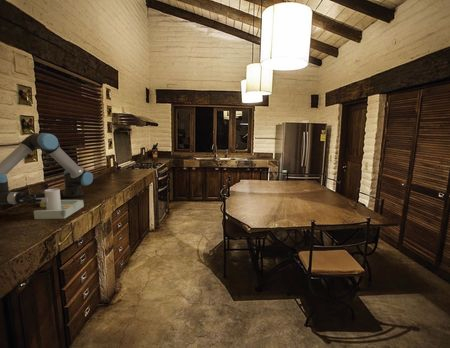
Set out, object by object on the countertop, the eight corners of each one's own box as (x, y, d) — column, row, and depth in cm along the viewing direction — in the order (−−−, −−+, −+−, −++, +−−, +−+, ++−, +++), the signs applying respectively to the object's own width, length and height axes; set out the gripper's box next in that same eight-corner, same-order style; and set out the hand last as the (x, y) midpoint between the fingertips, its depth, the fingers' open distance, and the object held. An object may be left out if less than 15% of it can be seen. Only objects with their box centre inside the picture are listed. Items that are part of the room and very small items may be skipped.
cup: (59, 210, 177) (56, 188, 174) (63, 213, 171) (61, 189, 169) (45, 213, 170) (42, 189, 168) (49, 216, 165) (46, 191, 163)
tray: (34, 219, 163) (33, 210, 162) (58, 206, 190) (57, 199, 190) (64, 218, 165) (63, 209, 164) (83, 206, 192) (83, 198, 191)
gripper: (31, 198, 180) (63, 198, 182) (5, 209, 155) (42, 208, 158) (30, 188, 179) (62, 188, 181) (3, 197, 154) (41, 196, 156)
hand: (53, 197), depth 169 cm, fingers open, 13 cm apart
